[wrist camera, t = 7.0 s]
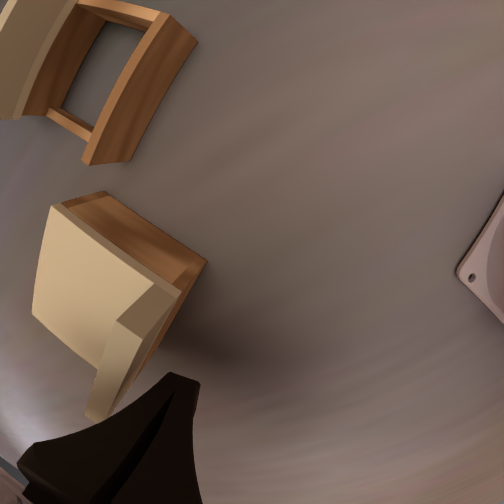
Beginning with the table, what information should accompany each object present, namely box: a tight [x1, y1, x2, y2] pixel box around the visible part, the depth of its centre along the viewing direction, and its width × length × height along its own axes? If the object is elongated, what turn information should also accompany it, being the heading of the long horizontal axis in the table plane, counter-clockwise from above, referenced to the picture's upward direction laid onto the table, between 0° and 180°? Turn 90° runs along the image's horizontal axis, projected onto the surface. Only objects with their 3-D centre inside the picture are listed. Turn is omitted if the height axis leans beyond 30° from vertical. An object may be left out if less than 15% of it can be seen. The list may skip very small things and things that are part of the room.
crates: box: [22, 0, 207, 382], centre depth 10 cm, size 15×29×3 cm, turn 148°
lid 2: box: [32, 203, 182, 424], centre depth 11 cm, size 7×7×3 cm
